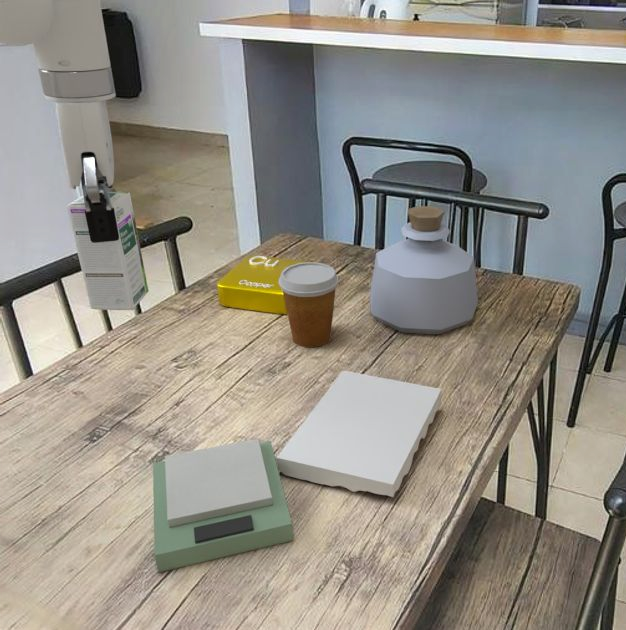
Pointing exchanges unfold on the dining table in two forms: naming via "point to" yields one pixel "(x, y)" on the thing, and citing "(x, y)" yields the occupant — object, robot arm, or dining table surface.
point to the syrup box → (110, 257)
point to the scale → (218, 504)
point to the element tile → (255, 284)
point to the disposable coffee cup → (309, 301)
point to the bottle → (424, 278)
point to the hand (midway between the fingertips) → (106, 229)
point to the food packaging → (361, 434)
